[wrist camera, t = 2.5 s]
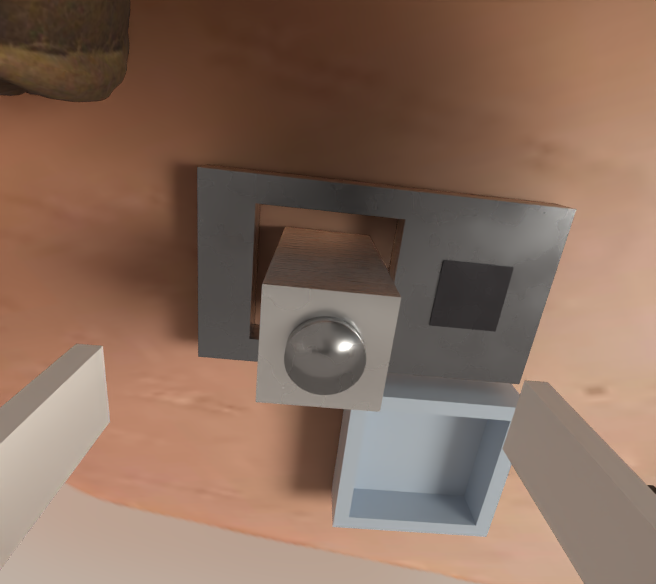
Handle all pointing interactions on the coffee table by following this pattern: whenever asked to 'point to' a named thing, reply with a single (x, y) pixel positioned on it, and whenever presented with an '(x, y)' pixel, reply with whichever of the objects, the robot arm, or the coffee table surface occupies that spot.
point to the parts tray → (425, 457)
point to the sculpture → (63, 48)
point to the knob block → (326, 322)
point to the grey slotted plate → (394, 268)
